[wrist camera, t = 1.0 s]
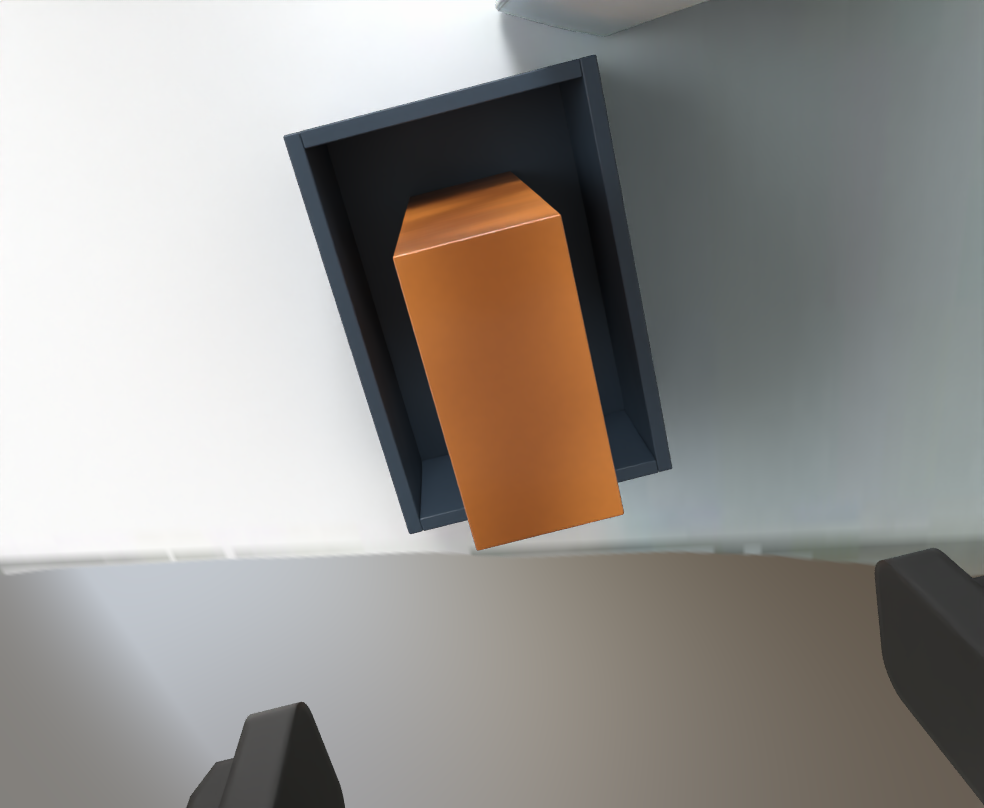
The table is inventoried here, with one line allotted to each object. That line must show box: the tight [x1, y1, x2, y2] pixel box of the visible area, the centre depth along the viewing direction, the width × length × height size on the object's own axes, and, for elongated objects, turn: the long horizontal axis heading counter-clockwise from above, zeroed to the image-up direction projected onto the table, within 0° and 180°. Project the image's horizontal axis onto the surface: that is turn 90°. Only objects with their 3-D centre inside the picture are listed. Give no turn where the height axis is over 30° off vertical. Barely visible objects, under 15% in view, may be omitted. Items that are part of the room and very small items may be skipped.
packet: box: [393, 171, 624, 550], centre depth 30 cm, size 4×9×15 cm, turn 14°
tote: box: [284, 55, 672, 534], centre depth 34 cm, size 11×16×6 cm
